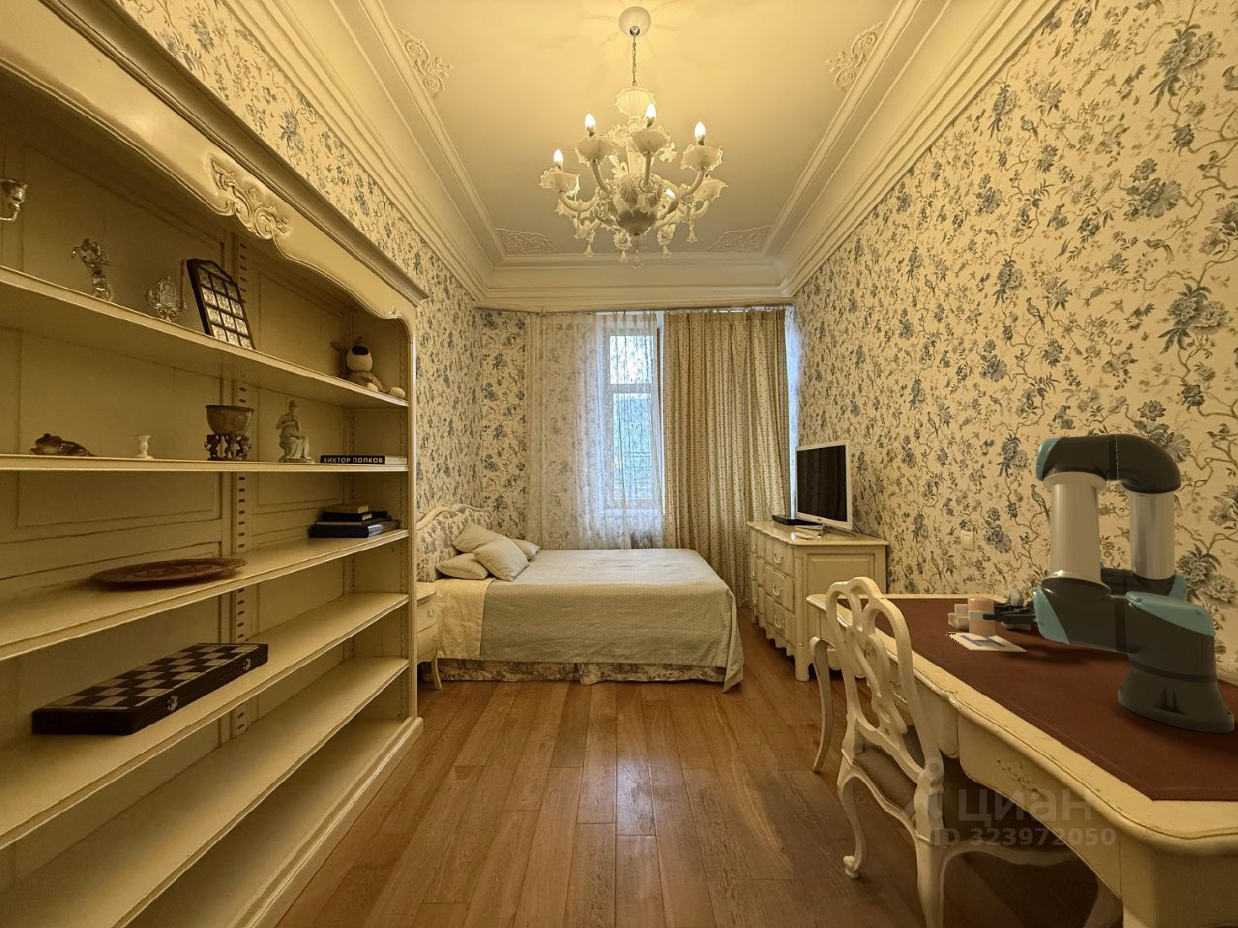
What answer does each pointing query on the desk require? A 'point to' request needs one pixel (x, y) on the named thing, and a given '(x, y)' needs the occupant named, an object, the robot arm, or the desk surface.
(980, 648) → the letter card
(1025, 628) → the digital clock
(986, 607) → the terracotta canister
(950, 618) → the ash block
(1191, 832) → the desk surface
